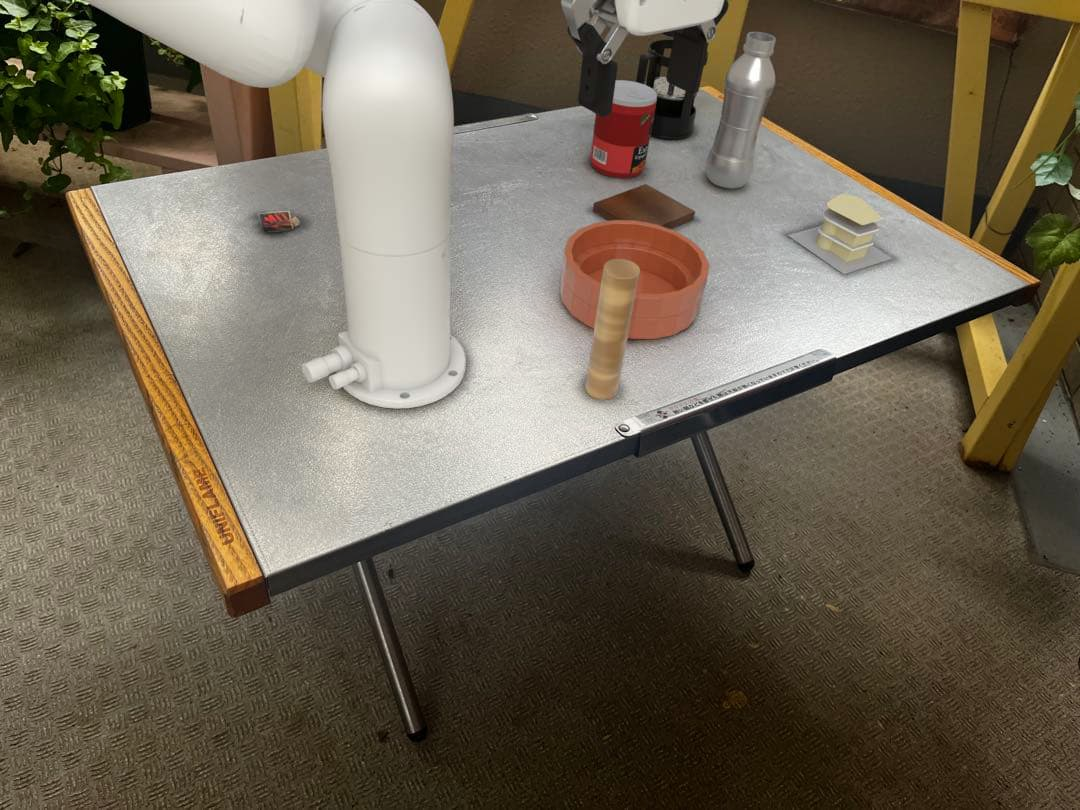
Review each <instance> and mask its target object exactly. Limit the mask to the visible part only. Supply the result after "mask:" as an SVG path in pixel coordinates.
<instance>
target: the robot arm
mask: <svg viewBox="0 0 1080 810" xmlns="http://www.w3.org/2000/svg"><path fill="white" fill-rule="evenodd" d="M82 1H84V2H86V3H87V4H90V5H91V6H93V7H95V8H97V9H99V10H100V11H102V12H104V13H105V14H108V15H109V16H111V17H113V18H115V19H116V20H118V21H120V22H121V23H123V24H125V25H127V26H128V27H130V28H132V29H135V30H136V31H139V32H141V33H142V34H144V35H146V36H148V37H149V38H152V39H154V40H156V41H157V42H160V43H161V44H163V45H165V46H167V47H169V48H171V49H172V50H175V51H176V52H178V53H180V54H182V55H184V56H186V57H188V58H190V59H192V60H194V61H196V62H198V63H199V64H201V65H203V66H205V67H207V68H209V69H211V70H212V71H214V72H216V73H218V74H220V75H221V76H224V77H226V78H227V79H230V80H233V81H234V82H237V83H239V84H242V85H245V86H247V87H252V88H261V89H266V88H267V89H268V88H274V87H279V86H281V85H284V84H286V83H287V82H290V81H291V80H293V79H294V78H295V77H296V76H297V75H298V74H299V73H300V72H301V71H302V69H303V68H305V69H307V70H309V71H310V72H313V73H314V74H316V75H318V76H320V77H322V78H323V85H322V86H323V87H322V104H321V105H322V108H321V109H322V110H321V111H322V123H323V124H322V125H323V132H324V140H325V146H326V151H327V157H328V162H329V169H330V177H331V183H332V190H333V199H334V208H335V209H334V210H335V218H336V227H337V228H336V229H337V233H338V244H339V253H340V254H339V255H340V262H341V274H342V284H343V292H344V304H345V313H346V314H345V315H346V323H347V330H344V331H341V332H339V333H338V334H337V338H338V345H337V346H334V347H332V348H331V350H330V353H328V354H326V355H324V356H318V357H315V358H313V359H310V360H308V361H305V362H303V363H301V371H302V373H303V375H304V378H305V379H306V381H307V382H308V383H310V384H312V383H314V382H317V381H320V380H322V379H325V378H326V377H328V381H329V384H330V386H331V388H332V389H333V390H334V391H337V390H339V389H342V388H343V389H344V390H345V391H346V392H347V393H348V394H349V395H350V396H352V397H354V398H355V399H357V400H359V401H360V402H363V403H366V404H368V405H371V406H375V407H380V408H386V409H395V410H396V409H413V408H418V407H419V408H420V407H423V406H426V405H429V404H433V403H435V402H437V401H439V400H442V399H444V398H445V397H447V396H448V395H449V394H451V393H452V392H454V390H455V389H456V388H458V387H459V385H460V384H461V382H462V380H463V379H464V376H465V374H466V367H467V366H466V364H467V358H466V353H465V350H464V348H463V345H462V344H461V342H459V340H458V339H457V338H456V337H455V336H454V335H452V334H451V273H452V271H451V268H452V267H451V265H452V264H451V263H452V262H451V260H452V259H451V252H452V251H451V249H452V248H451V247H452V245H451V244H452V243H451V242H452V239H451V238H452V231H451V230H452V229H451V228H452V227H451V202H452V201H451V197H452V196H451V195H452V190H451V188H452V166H453V151H454V149H453V148H454V133H455V130H454V129H455V117H454V116H455V112H454V98H453V91H452V82H451V75H450V69H449V65H448V62H447V55H446V48H445V44H444V40H443V37H442V35H441V32H440V30H439V28H438V26H437V24H436V22H435V21H434V20H433V18H432V17H431V16H430V14H429V13H428V11H426V9H425V8H424V7H422V6H421V5H420V3H418V2H417V1H415V0H82ZM729 1H731V0H560V5H561V10H562V13H563V15H564V19H565V22H566V24H567V29H566V30H567V34H568V35H569V37H570V38H571V40H572V41H573V42H574V43H575V44H574V45H575V47H576V48H575V49H576V51H577V52H579V53H581V54H582V59H581V69H580V76H579V77H580V78H579V87H578V97H577V101H578V104H579V105H580V106H582V107H583V108H585V109H587V110H588V111H591V112H592V113H594V114H595V115H596V114H598V115H599V116H601V117H605V116H609V115H610V113H611V111H612V104H613V97H614V89H615V82H616V80H617V74H618V62H617V61H614V60H613V58H614V56H615V55H616V53H617V52H618V51H619V49H620V47H621V46H622V44H623V42H624V41H625V39H626V38H627V36H628V35H629V34H631V35H633V36H636V37H637V36H638V37H645V36H652V35H657V34H662V33H663V32H668V31H673V30H678V29H682V30H683V32H682V31H675V35H674V38H673V37H672V39H673V43H672V49H670V55H669V58H670V60H669V65H668V67H667V70H666V71H667V72H666V76H665V77H666V80H667V82H668V83H670V84H672V85H674V86H676V87H678V88H680V89H682V90H684V91H687V92H689V93H691V94H692V93H696V92H698V90H699V91H700V87H701V81H702V77H703V73H704V67H705V66H704V63H705V58H706V53H707V51H708V48H709V42H712V41H713V40H714V39H715V37H716V35H717V32H718V31H717V30H718V29H717V26H718V24H719V23H720V22H721V21H722V19H723V18H724V17H725V15H726V14H727V12H728V10H729V7H730V6H729ZM590 11H591V14H592V17H591V16H590ZM607 27H609V28H610V29H609V31H608V33H607V35H606V36H605V38H604V39H603V38H602V36H601V35H602V34H603V33H604V31H605V30H606V28H607ZM698 93H699V92H698Z"/></svg>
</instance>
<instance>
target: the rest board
mask: <svg viewBox="0 0 1080 810" xmlns="http://www.w3.org/2000/svg"><path fill="white" fill-rule="evenodd" d="M592 212H594V213H595V214H597V215H598V216H600V217H602V218H603V219H605V220H606V221H611V220H634V221H641V222H646V223H652V224H657V225H660V226H662V227H665V228H668V229H671V230H672V229H673V228H676V227H678V226H681V225H684V224H685V223H686V224H687V223H688V222H690V221H693V220H694V218H695V214H696V210H694V209H692V208H690V207H689V206H687V205H684V204H683V203H681V202H680V201H677V200H676V199H674V198H672V197H671V196H669V195H667V194H665V193H664V192H662V191H660V190H658V189H656V188H655V187H652V186H651V185H649V184H647V183H645V184H642V185H639V186H637V187H633V188H630V189H627V190H626V191H622V192H619V193H617V194H614V195H612V196H609V197H607V198H606V197H605V198H604V199H601V200H598V201H595V202H593V205H592Z"/></svg>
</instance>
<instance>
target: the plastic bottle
mask: <svg viewBox="0 0 1080 810" xmlns="http://www.w3.org/2000/svg"><path fill="white" fill-rule="evenodd" d="M776 39H777V38H776V36H774V35H772V34H770V33H766V32H761V31H749V32H748V33H747V34H746V37H745V42H744V44H743V47H742V50H743V54H741V55H740V56H739V57H738V58H737V59H736V60H735V61H734V62H733V63H732V64H731V65H730V66H729V68H728V70H727V72H726V74H725V80H724V88H723V101H722V108H721V116H720V119H719V125H718V127H717V131H716V134H715V137H714V140H713V144H712V146H711V148H710V150H709V152H708V155H707V158H706V160H705V174H706V177H707V179H708V180H709V182H711V183H712V184H714V185H716V186H719V187H721V188H725V189H739V188H742V187H743V186H745V185H746V184H747V183H748V182H749V180H750V177H751V176H752V173H753V170H754V163H755V151H756V144H757V139H758V133H759V130H760V126H761V123H762V120H763V116H764V113H765V110H766V109H767V106H768V103H769V101H770V100H771V99H770V98H771V96H772V93H773V91H774V89H775V86H776V73H775V69H774V66H773V63H772V61H771V58H770V57H772V56H773V55H774V51H775V50H774V49H775V44H776V41H777V40H776Z"/></svg>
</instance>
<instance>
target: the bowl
mask: <svg viewBox="0 0 1080 810" xmlns="http://www.w3.org/2000/svg"><path fill="white" fill-rule="evenodd" d="M562 257H563V258H562V265H561V274H560V282H559V292H560V299H561V302H562V304H563V305H564V306H565V308H566V309H567V311H568V312H569V313H570V314H571V315H572V316H573V317H575V318H576V319H577V320H579V321H580V322H581V323H583V324H585V325H586V326H587V327H590V328H592V329H594V326H595V320H596V313H597V307H598V301H599V294H600V288H601V281H602V275H603V268H604V265H605V263H606V262H607V261H609V260H612V259H625V260H629V261H632V262H634V263H635V264H636V265H638V267H639V268H640V276H639V281H638V286H637V291H636V297H635V302H634V307H633V312H632V317H631V323H630V328H629V333H628V338H627V339H632V340H633V339H634V340H653V339H654V340H655V339H661V338H665V337H670V336H674V335H676V334H678V333H680V332H682V331H684V330H685V329H688V328H689V327H690V325H692V323H694V321H695V320H696V318H697V317H698V316H699V313H700V308H701V305H702V301H703V297H704V293H705V289H706V286H707V282H708V281H707V280H708V277H709V271H710V263H709V261H708V258H707V256H706V253H705V251H703V249H702V248H700V246H698V245H697V243H696V242H694V240H691V238H689V237H687V236H685V235H683V234H681V233H679V232H678V231H676V230H673V229H672V228H671V229H668V228H665V227H662V226H660V225H657V224H652V223H646V222H641V221H634V220H611V221H608V220H605V221H599V222H593V223H591V224H588V225H586V226H583V227H581V228H579V229H577V230H576V231H575V232H574V233H572V234H571V235H570V236H569V237H568V238H567V241H566V243H565V246H564V249H563V255H562Z"/></svg>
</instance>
